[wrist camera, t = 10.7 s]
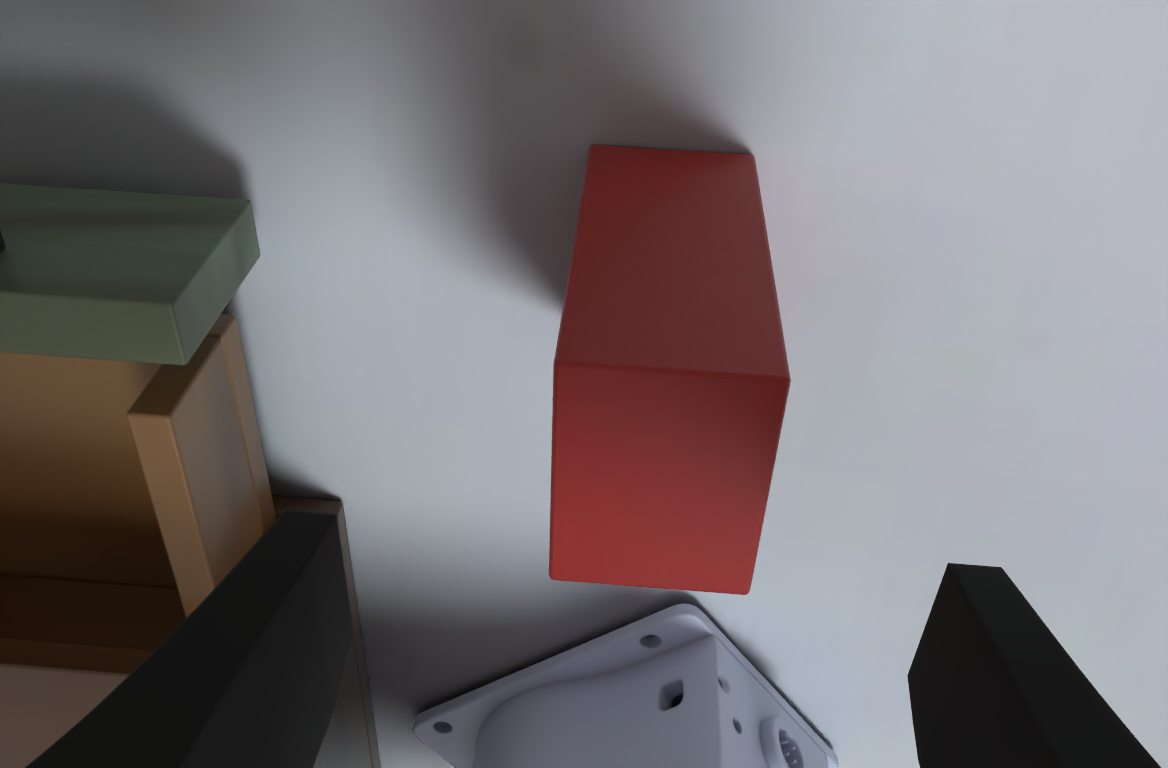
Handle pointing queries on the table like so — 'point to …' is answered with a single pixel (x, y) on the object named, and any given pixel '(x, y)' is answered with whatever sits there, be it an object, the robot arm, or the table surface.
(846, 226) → the table surface
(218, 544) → the drawer
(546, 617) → the table surface
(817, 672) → the table surface
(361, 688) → the cabinet
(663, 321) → the red rectangular block
